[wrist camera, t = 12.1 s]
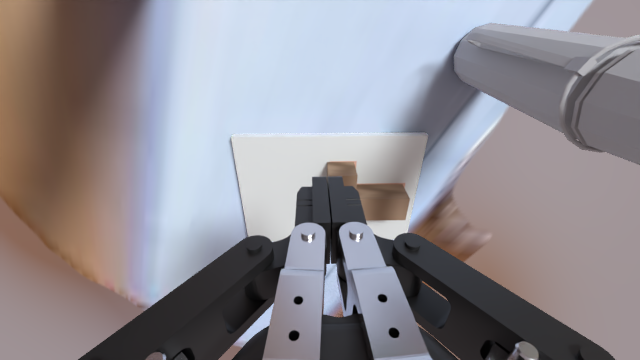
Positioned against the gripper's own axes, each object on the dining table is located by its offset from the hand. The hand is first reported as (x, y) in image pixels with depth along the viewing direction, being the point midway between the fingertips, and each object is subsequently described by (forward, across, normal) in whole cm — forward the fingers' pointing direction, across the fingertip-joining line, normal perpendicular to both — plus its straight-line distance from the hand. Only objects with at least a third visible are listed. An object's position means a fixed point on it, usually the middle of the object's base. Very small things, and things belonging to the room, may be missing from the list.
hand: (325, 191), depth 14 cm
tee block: (+26, -7, +18) cm, 32 cm away
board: (+27, -2, +18) cm, 33 cm away
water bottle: (+27, -20, -3) cm, 34 cm away
